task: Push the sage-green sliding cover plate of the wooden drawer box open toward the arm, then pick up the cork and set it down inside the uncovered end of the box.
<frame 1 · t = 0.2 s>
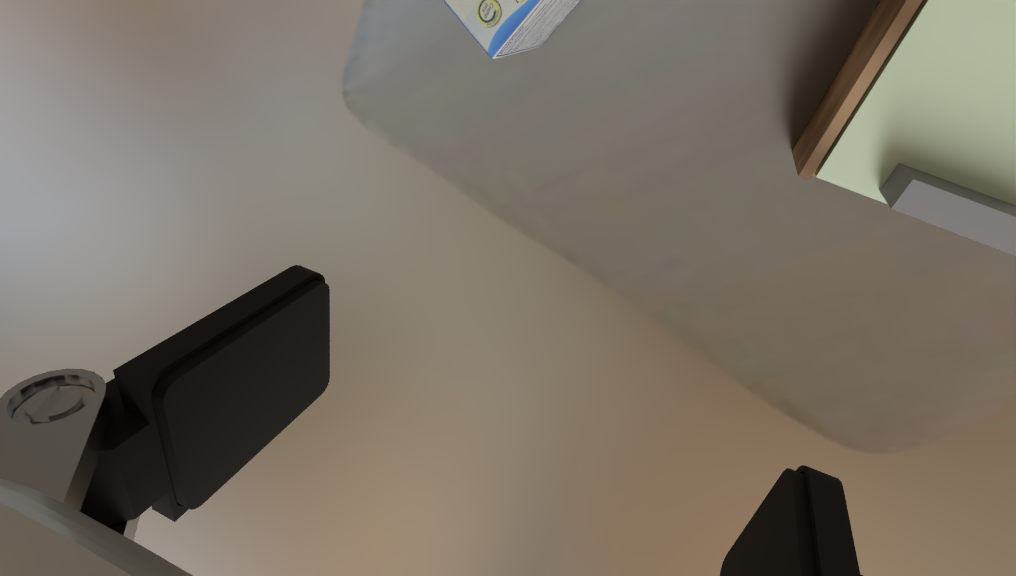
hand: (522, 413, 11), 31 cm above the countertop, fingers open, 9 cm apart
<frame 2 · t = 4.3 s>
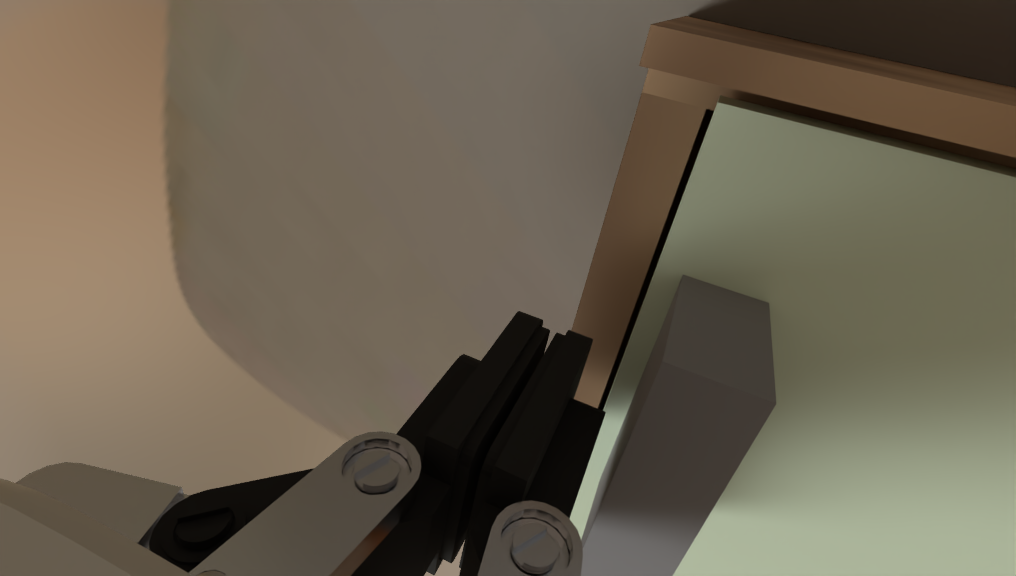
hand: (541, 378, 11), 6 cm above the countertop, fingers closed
wooden drawer box: (925, 371, 15), on the countertop
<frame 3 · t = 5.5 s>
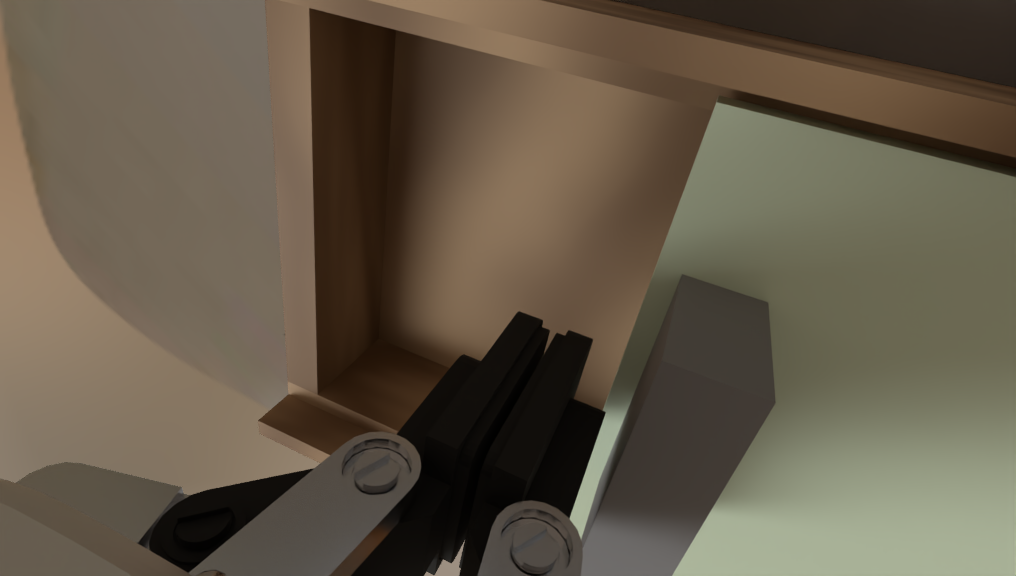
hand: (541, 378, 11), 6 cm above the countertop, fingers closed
wooden drawer box: (617, 267, 17), on the countertop
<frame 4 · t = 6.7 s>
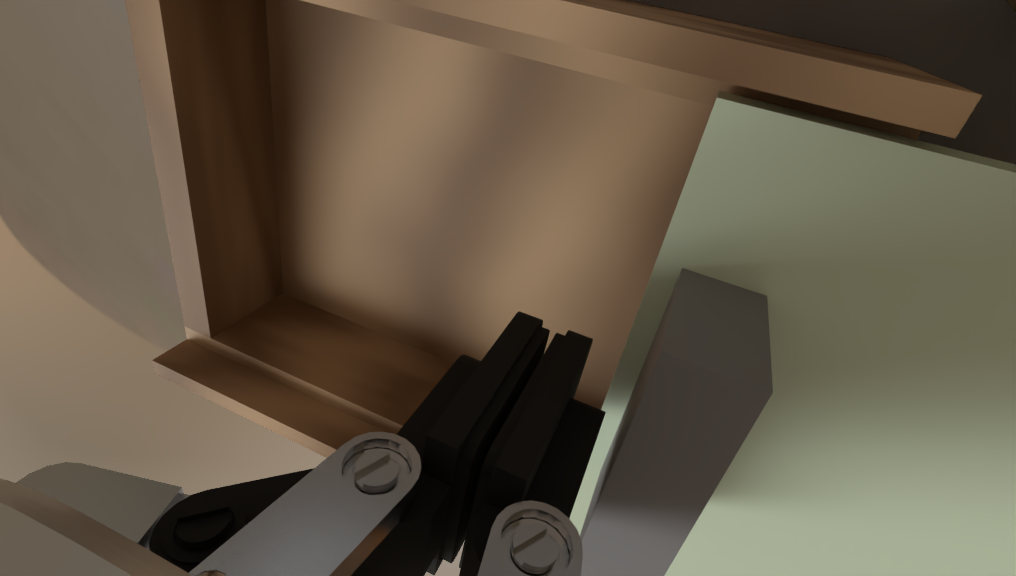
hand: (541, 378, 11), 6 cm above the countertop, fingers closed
wooden drawer box: (482, 217, 18), on the countertop
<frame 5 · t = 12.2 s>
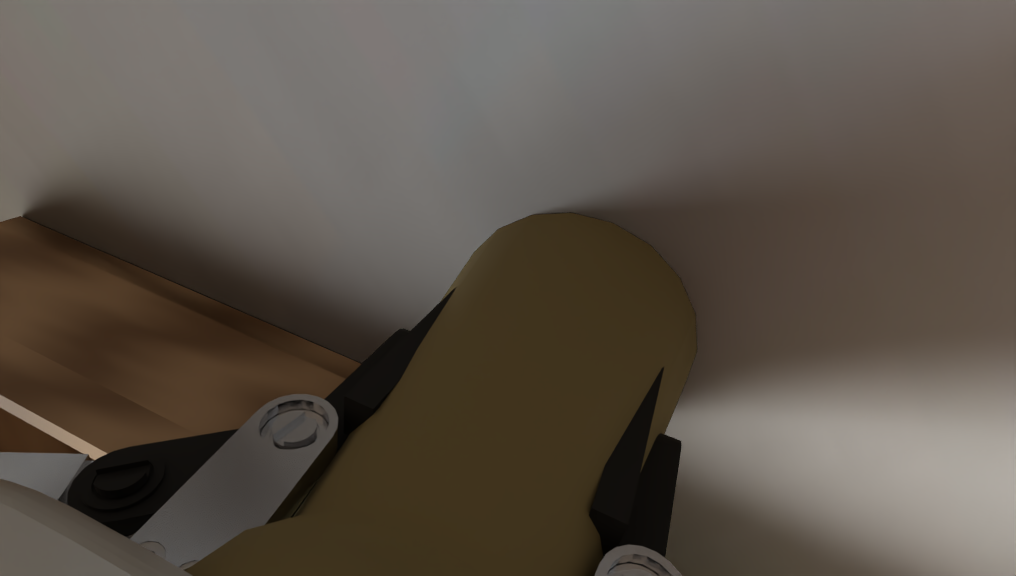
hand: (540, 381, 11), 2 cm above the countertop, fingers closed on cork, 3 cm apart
cork: (571, 324, 13), on the countertop, touching gripper
wooden drawer box: (228, 439, 22), on the countertop
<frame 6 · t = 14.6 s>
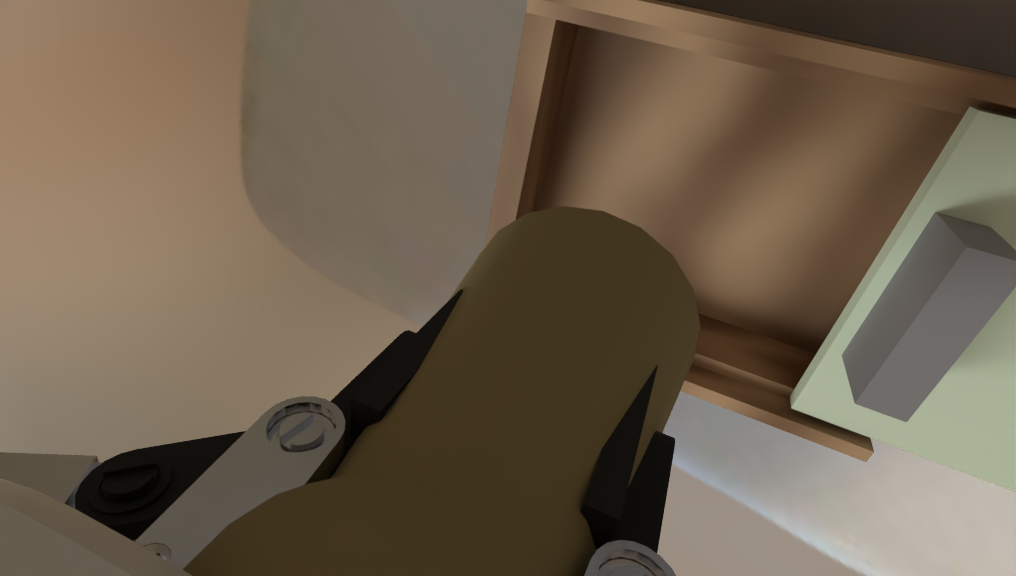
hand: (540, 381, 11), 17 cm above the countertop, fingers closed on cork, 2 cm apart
cork: (578, 314, 14), point 14 cm above the countertop, touching gripper
wooden drawer box: (714, 192, 25), on the countertop
when the fingers open (5 cm above the countertop, at t = 17.0 s): cork drops 1 cm, resting on wooden drawer box.
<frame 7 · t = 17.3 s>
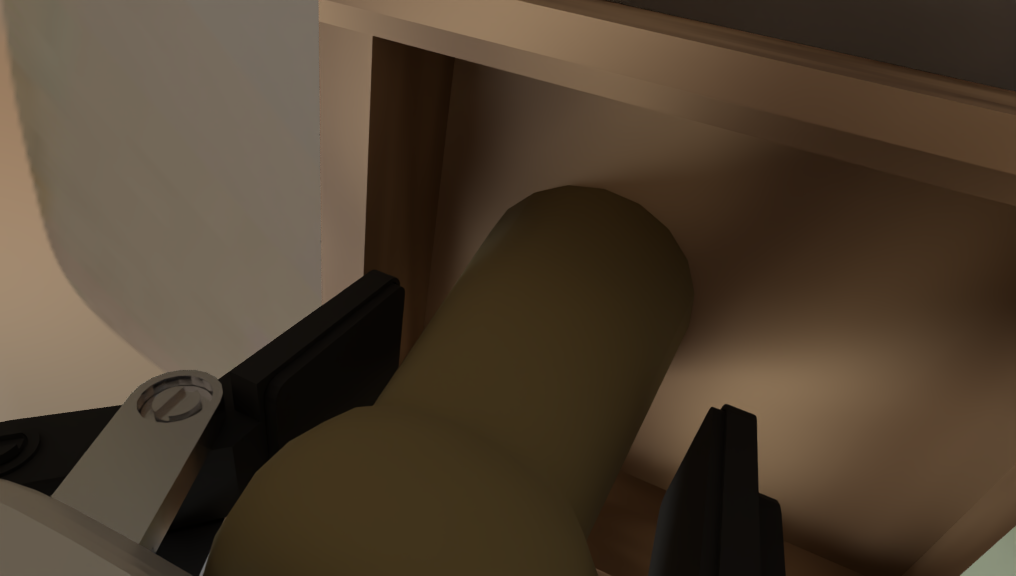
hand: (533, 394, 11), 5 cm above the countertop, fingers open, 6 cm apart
cork: (581, 288, 15), point 1 cm above the countertop, touching wooden drawer box
wooden drawer box: (696, 317, 15), on the countertop
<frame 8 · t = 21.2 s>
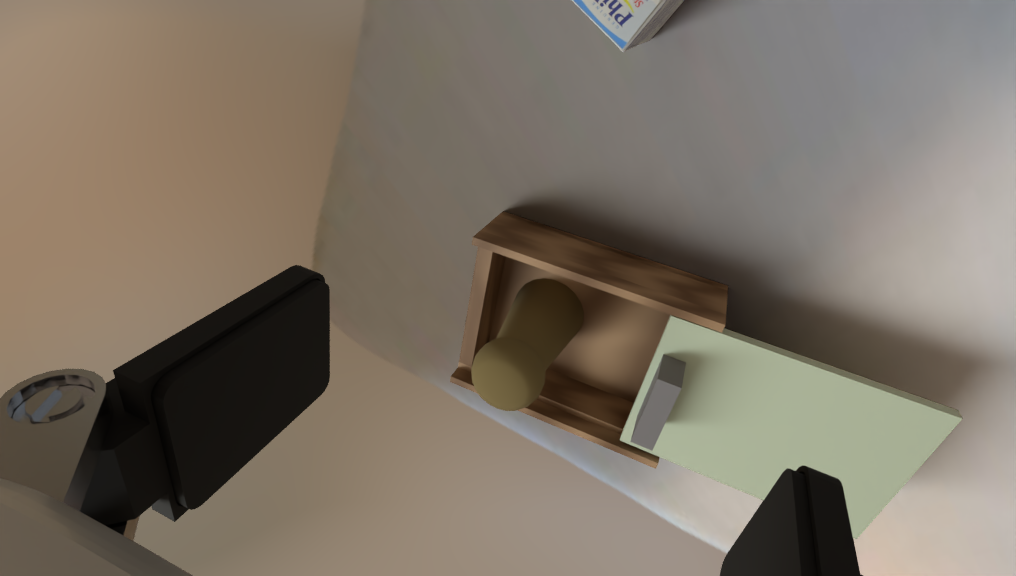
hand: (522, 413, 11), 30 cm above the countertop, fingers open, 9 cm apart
lid: (767, 441, 36), point 6 cm above the countertop, slide at 14.5 cm
cork: (549, 309, 45), point 1 cm above the countertop, touching wooden drawer box
wooden drawer box: (587, 319, 45), on the countertop
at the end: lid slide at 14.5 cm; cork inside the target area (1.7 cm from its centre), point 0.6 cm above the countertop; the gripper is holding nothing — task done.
